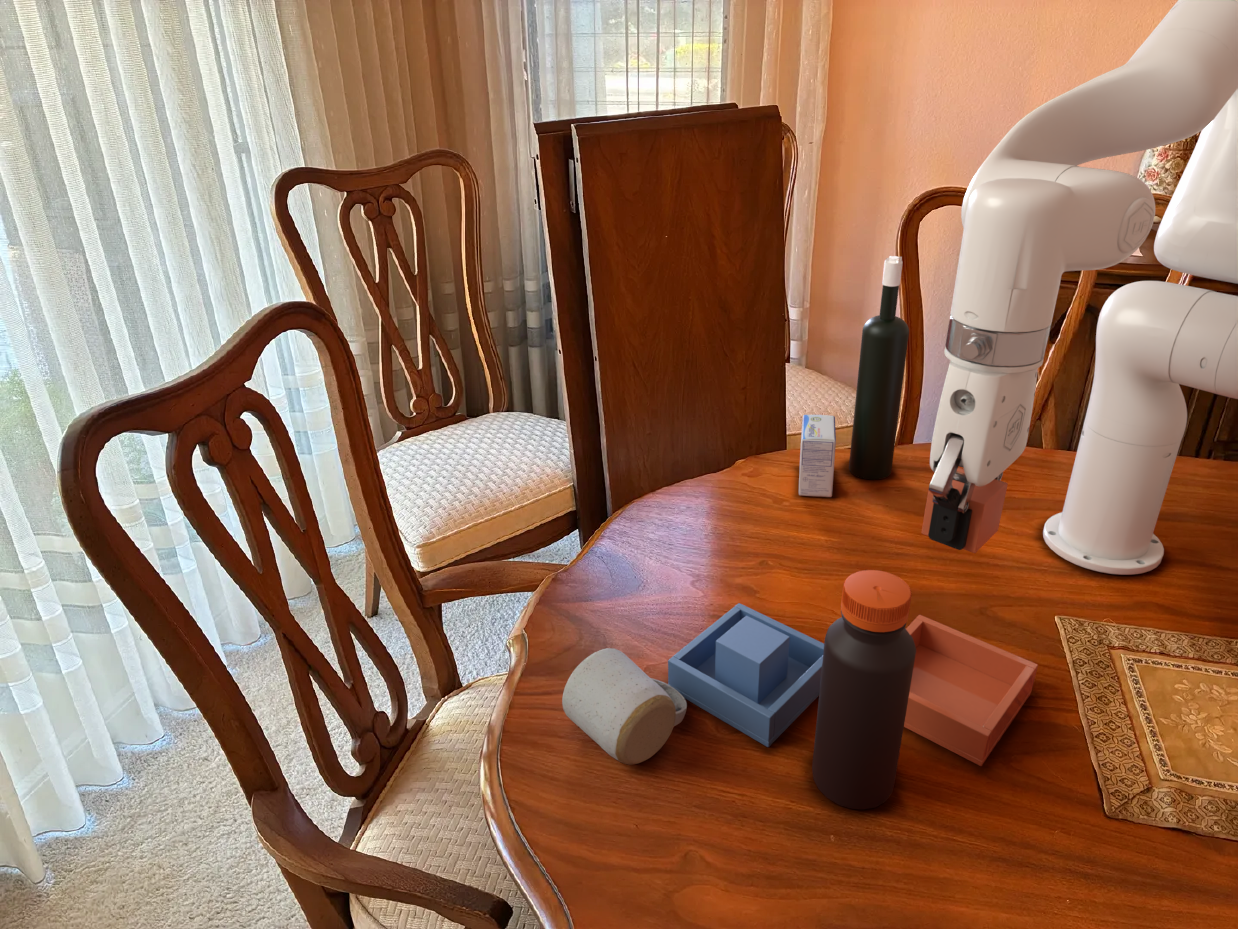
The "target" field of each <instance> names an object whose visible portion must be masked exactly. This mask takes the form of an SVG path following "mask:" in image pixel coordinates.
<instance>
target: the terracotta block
mask: <svg viewBox="0 0 1238 929" xmlns="http://www.w3.org/2000/svg"><path fill="white" fill-rule="evenodd" d="M957 471H958V472H962V473H965V472H964V468H962V467H958V469H957ZM964 484H965V483H962V482H959V481H956V480H953V481H952V486H953V488H955V489H958V491H959V493H960V494H961V493H962V490H963V487H964ZM1007 489H1008V482H1005V481H1003V480H1000V481H999V480H996V479H994V480H993V481H991V482H990V483H988V484H987V485H984V486H981V487H979V486H976V485H975V487H974V490H973V493H972V497H971V500H970V504H969V507H968V509H971V510H972V515H971V520H970V525H969V530H968V535H967V541H966V546H965V547H964V548H963V549H962V550H963V551H964V550H965V551H967V552H970V553H973V554H976V553H977V552H978V551H979V550H980V549H981V548H982V547H983V546H984V545H985V544H986V543H987V542H988V541H989V540H990V539H991V538H993V536H994V535H995V534H996V533H997V532H998V531H999V527H1000V523H1001V518H1002V513H1003V510H1004V509H1003V507H1004V504H1005V498H1006V495H1007ZM927 490H928V491H927V496H926V504H925V508H924V516H923V522H922V527H921V535H924V536H926V537H929V536H928V534H929V528H930V522H931V516H932V510H933V504H934V503H933V494H932V493H931V492H930V491H929V489H927Z"/></svg>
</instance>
